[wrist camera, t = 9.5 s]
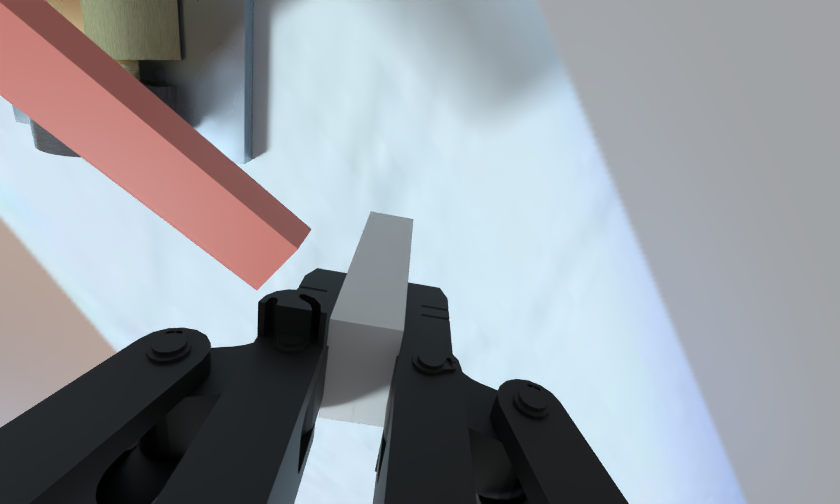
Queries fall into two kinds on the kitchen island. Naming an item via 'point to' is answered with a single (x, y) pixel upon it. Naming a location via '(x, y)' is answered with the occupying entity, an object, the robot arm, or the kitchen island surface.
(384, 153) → the kitchen island surface
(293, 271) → the kitchen island surface
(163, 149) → the lever
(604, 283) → the kitchen island surface
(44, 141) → the valve fixture
